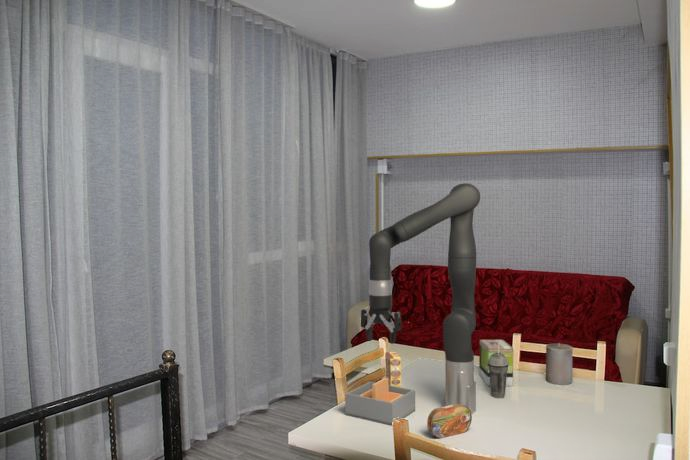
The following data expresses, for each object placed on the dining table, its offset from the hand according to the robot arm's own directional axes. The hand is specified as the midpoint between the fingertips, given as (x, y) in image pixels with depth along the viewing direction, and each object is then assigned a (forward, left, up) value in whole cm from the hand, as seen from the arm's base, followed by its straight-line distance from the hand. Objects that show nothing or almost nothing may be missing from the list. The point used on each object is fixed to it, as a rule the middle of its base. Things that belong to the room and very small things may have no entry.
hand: (381, 341), depth 188 cm
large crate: (-1, +2, -23) cm, 23 cm away
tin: (-27, +6, -24) cm, 36 cm away
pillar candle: (-42, -65, -23) cm, 81 cm away
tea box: (-21, -53, -24) cm, 62 cm away
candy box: (+3, -14, -23) cm, 28 cm away
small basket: (-1, +2, -22) cm, 22 cm away
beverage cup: (-28, -35, -23) cm, 51 cm away
